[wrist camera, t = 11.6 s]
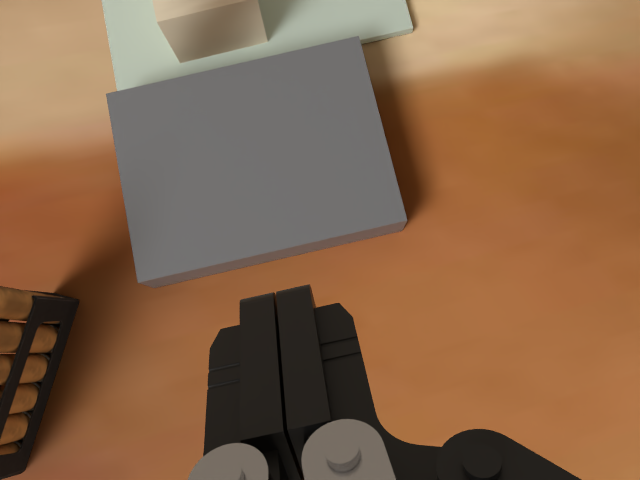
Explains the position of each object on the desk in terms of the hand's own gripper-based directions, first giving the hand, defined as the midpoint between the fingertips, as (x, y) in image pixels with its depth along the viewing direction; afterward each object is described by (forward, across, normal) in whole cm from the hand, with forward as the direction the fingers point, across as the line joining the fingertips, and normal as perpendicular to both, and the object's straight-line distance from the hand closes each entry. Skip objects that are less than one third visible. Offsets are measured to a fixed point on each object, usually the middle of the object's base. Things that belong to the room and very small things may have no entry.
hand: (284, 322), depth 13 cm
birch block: (+29, +3, +1) cm, 29 cm away
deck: (+25, +2, +9) cm, 26 cm away
